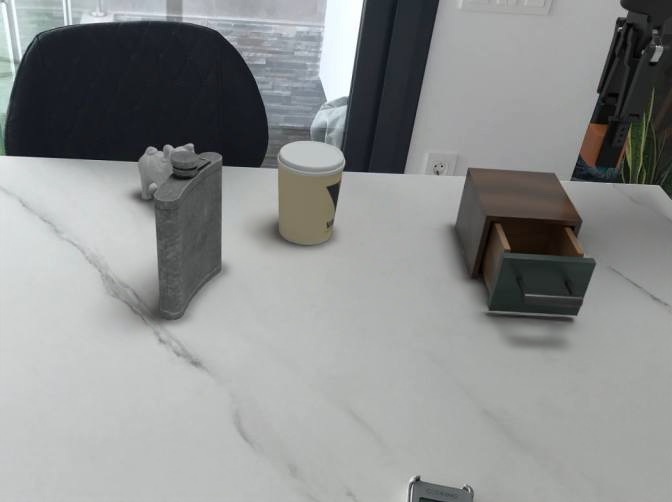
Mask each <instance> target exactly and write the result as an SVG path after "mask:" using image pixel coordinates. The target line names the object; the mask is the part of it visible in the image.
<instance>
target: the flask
mask: <svg viewBox="0 0 672 502" xmlns="http://www.w3.org/2000/svg"><path fill="white" fill-rule="evenodd" d="M170 162H171V164H172V171H173V173H172V174H171V175H170V176H169V177H168V178H167V179H166V180H165V181H164V182H163V183H162V184H161V185H160V187H158V188H157V189H156V191H155V192H154V194H153V202H154V220H155V221H154V222H155V223H154V224H155V237H156V255H157V257H156V259H157V274H158V275H157V276H158V295H159V311H160V313H159V315H160V316H161V317H162V318H164V319H166V320H169V321H170V320H171V321H174V320H178V319H180V318H182V317H183V316H184V314H185V311H186V310H187V308H188V306H189V305H190V303H191V301H192V300H193V298H194V297H195V296H196V294H197V293H198V292H199V291H201V289H202V288H203V287H204V286H205V285H206V284H207V283H208V282H209V281H211V279H212V278H214V277H215V276H217V275H218V274H219V273H220V272H222V254H223V253H222V252H223V251H222V247H223V246H222V235H223V233H222V232H223V231H222V230H223V229H222V228H223V225H222V224H223V155H221V154H220V153H218V152H214V151H206V152H205V151H204V152H201V153H200V154H197V152H195V151H194V152H190V151H178V152H175V153H172V154H171V156H170Z"/></svg>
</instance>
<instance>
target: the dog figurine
mask: <svg viewBox="0 0 672 502" xmlns="http://www.w3.org/2000/svg"><path fill="white" fill-rule="evenodd" d="M178 151H190V152H194V153H195V145H194V144H193V143H187V144H185V145H181V146H177V147H176V148H174V147H173V146H172V145H171V144H165V145H164V146H163V149H162V150H158V149H157V148H156V147H154V146H148V147H147V148H146V149H145V152H144V154H142V155H141V157H140V158H139V159H138V161H137V169H138V173H139V176H140V184H141V198H142V199H143V200H145V201H148V200H151V199H152V198H153V196H152V195H151V194H150V191H149V188H150V186H151V185H152V184H155V185H156V186H157V187H158V188H159V187H160V185H161V184H162V183H163V182H164V181H165V180H166V179H167V178H168V177H169V176H170V175H171V174H172V173H173V171H172V164H171V162H170V156H171V154H172V153H175V152H178Z"/></svg>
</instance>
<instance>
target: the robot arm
mask: <svg viewBox="0 0 672 502" xmlns="http://www.w3.org/2000/svg"><path fill="white" fill-rule="evenodd" d="M619 5H620V6H621V8H622V9H624V10H625V11H627V12H628V14H627V15H626V17H624V16H618V17H617V18H616V20H615V24H614V31H613V35H612V40H611V42H610V46H609V49H608V52H607V55H606V59H605V62H604V65H603V69H602V72H601V75H600V77H599V78H600V79H599V82H598V85H597V88H596V93H597V95H599V99H598V102H599V104H598V105H599V106H598V108H597V111H596V115H595V118H594V121H593V124H603V125H608V127H607V130H606V133H605V136H604V139H603V142H602V145H601V148H600V151H599V154H598V157H597V160H596V163H595V165H596V168H608V169H617V168H616V166H617V164H618V161H619V158H620V155H621V152H622V149H623V146H624V144H625V141H626V138H627V136H628V135H629V131H630V129H631V127H632V124H641V123H642V120H643V118H644V115H645V113H646V110H647V107H648V105H649V102H650V99H651V96H652V93H653V91H654V88H655V85H656V83H657V79H658V77H659V74H660V71H661V68H662V66H663V64H664V62H665V61H666V59H667V57H668V55H669V53H670V47H671V46H670V45H665V44H662V43H663V38H664V35H665V29H666V22H667V20H669V19H670V18H672V0H619Z"/></svg>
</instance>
